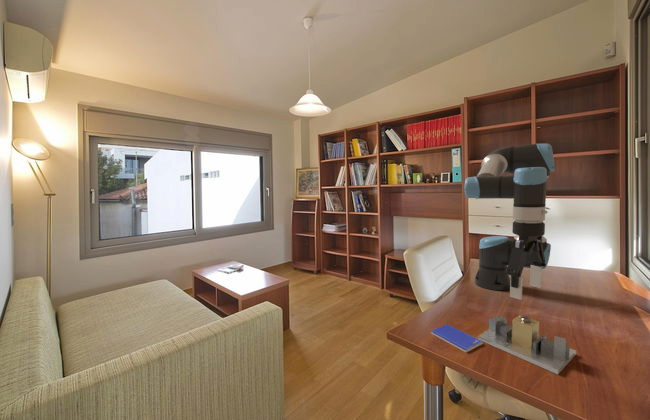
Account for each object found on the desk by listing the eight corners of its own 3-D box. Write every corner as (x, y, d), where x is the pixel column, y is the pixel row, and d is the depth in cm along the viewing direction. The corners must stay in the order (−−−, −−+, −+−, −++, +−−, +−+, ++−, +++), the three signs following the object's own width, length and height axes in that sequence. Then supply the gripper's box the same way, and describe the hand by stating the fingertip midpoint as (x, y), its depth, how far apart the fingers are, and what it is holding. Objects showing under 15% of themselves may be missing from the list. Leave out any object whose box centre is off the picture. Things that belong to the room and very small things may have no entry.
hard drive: (482, 340, 84) (447, 323, 95) (465, 349, 80) (431, 330, 91) (482, 345, 84) (447, 328, 95) (465, 354, 80) (431, 334, 91)
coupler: (531, 349, 79) (532, 324, 78) (511, 341, 83) (512, 317, 82) (538, 343, 81) (539, 319, 81) (519, 336, 85) (519, 313, 85)
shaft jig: (477, 339, 87) (477, 323, 86) (498, 325, 95) (499, 311, 94) (559, 375, 70) (560, 355, 69) (577, 355, 78) (577, 337, 77)
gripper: (524, 227, 69) (522, 308, 71) (560, 218, 83) (557, 285, 85) (493, 224, 75) (491, 298, 77) (531, 216, 89) (528, 279, 91)
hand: (526, 292), depth 81 cm, fingers open, 13 cm apart
